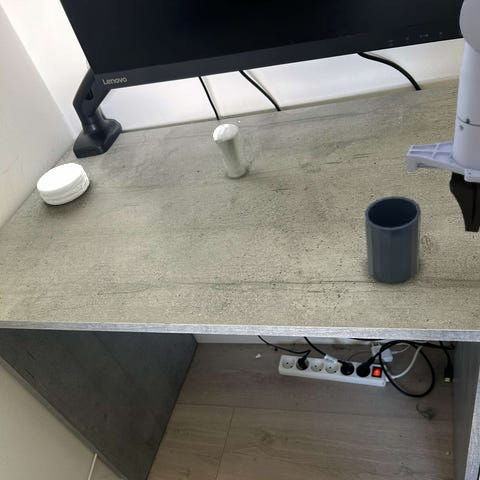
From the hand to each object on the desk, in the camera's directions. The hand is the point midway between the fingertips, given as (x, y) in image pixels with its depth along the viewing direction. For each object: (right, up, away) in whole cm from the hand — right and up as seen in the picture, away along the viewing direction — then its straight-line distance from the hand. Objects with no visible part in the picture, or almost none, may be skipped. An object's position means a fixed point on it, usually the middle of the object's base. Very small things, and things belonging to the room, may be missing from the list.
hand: (473, 226), depth 55 cm
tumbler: (-6, -3, +10) cm, 12 cm away
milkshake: (-26, +16, +35) cm, 47 cm away
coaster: (-62, +16, +46) cm, 79 cm away
